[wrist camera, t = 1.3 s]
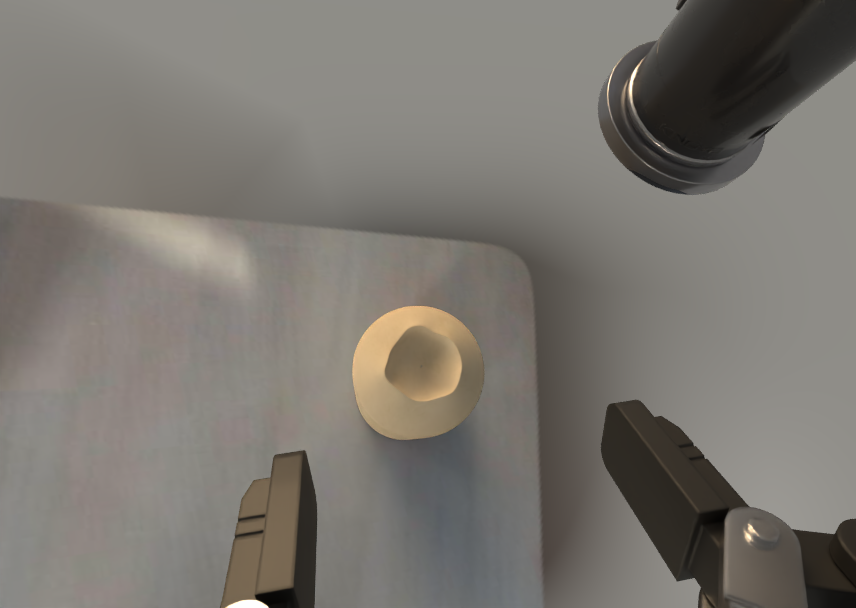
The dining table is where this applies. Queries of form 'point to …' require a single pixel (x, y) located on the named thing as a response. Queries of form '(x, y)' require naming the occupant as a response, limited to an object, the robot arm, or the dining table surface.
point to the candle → (417, 373)
